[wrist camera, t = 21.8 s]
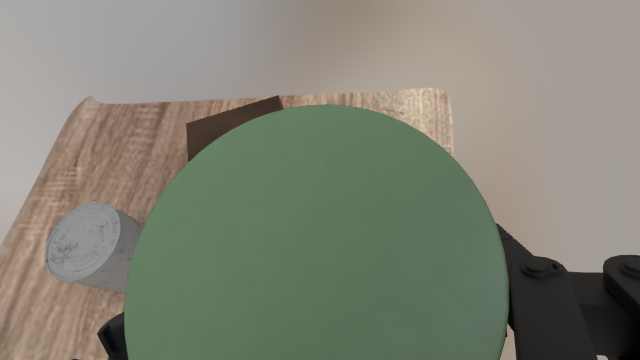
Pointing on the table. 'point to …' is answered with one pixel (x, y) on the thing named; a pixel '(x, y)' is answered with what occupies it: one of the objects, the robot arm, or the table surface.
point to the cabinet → (225, 123)
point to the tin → (319, 248)
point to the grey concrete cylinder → (93, 246)
